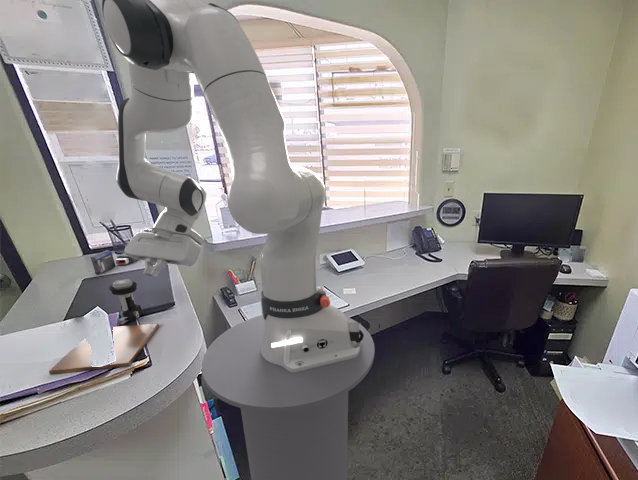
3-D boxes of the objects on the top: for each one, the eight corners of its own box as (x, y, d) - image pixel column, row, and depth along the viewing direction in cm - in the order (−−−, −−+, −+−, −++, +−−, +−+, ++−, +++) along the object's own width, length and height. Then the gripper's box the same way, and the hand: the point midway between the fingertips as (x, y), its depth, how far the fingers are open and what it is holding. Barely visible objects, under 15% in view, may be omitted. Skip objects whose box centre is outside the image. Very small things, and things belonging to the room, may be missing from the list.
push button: (133, 325, 76) (123, 288, 72) (110, 325, 75) (98, 288, 72) (149, 312, 82) (140, 277, 78) (127, 313, 81) (117, 277, 78)
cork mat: (159, 326, 76) (158, 323, 76) (129, 366, 62) (128, 362, 62) (96, 331, 73) (95, 328, 73) (49, 374, 59) (48, 371, 58)
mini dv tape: (100, 273, 105) (95, 257, 103) (95, 274, 105) (90, 257, 102) (115, 265, 112) (111, 250, 110) (110, 266, 112) (106, 250, 110)
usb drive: (145, 255, 125) (143, 248, 124) (129, 264, 114) (127, 257, 113) (130, 255, 124) (128, 248, 123) (113, 265, 113) (111, 257, 112)
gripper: (132, 222, 87) (107, 265, 81) (195, 228, 83) (173, 274, 78) (149, 234, 92) (127, 275, 87) (209, 241, 89) (190, 284, 83)
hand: (149, 275), depth 82 cm, fingers closed
